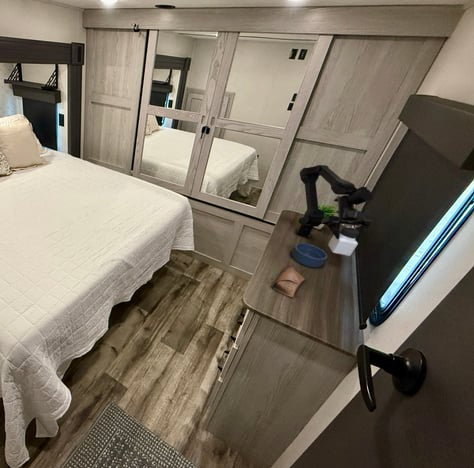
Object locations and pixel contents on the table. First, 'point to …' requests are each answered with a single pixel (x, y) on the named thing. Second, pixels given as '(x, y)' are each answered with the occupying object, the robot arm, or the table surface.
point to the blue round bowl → (309, 255)
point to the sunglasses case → (288, 282)
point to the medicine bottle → (344, 241)
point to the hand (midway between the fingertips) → (347, 240)
